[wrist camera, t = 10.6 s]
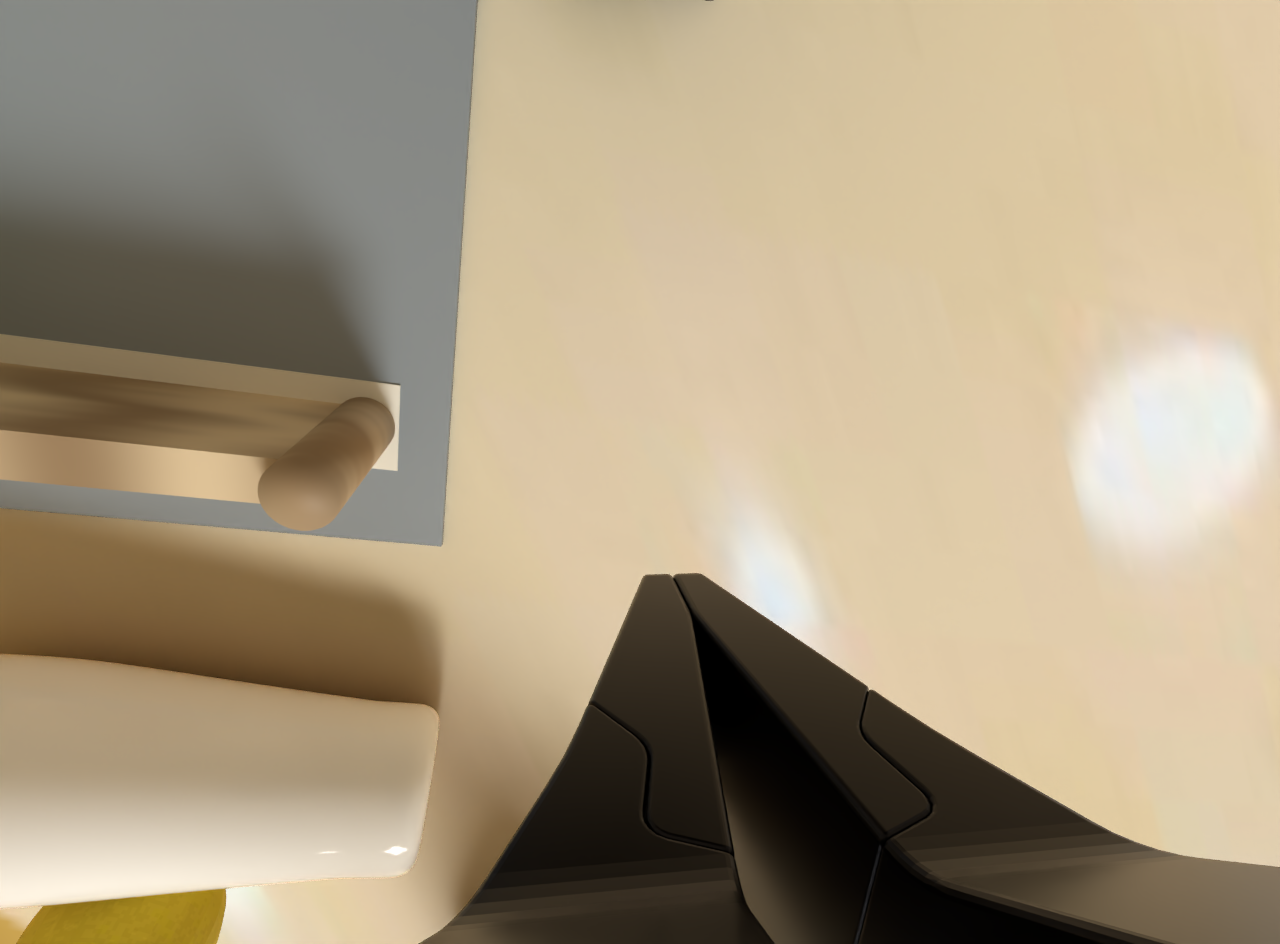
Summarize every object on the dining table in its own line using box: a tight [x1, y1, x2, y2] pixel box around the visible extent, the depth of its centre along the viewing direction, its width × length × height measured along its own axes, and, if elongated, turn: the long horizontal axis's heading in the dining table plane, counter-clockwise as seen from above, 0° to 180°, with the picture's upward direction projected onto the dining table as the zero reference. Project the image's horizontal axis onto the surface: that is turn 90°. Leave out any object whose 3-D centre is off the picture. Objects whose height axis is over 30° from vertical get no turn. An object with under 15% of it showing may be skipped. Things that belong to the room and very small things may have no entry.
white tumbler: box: [0, 654, 440, 909], centre depth 20 cm, size 7×7×15 cm
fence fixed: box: [0, 362, 395, 531], centre depth 16 cm, size 15×2×6 cm, turn 80°
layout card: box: [0, 0, 478, 546], centre depth 16 cm, size 19×20×1 cm
